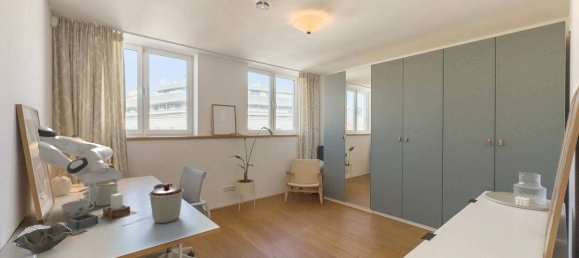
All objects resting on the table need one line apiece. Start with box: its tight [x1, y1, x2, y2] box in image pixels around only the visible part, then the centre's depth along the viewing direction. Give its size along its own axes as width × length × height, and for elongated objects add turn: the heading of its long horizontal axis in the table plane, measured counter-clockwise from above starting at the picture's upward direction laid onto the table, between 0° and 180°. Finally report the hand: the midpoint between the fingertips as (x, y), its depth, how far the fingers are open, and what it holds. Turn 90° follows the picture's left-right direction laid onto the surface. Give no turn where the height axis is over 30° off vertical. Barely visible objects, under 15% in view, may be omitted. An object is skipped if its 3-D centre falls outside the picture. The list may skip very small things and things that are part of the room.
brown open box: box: [96, 204, 139, 222], centre depth 145 cm, size 18×15×5 cm
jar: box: [95, 182, 119, 207], centre depth 168 cm, size 13×13×18 cm
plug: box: [110, 192, 124, 210], centre depth 144 cm, size 5×4×12 cm
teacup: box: [61, 199, 95, 218], centre depth 145 cm, size 15×12×8 cm
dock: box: [63, 212, 108, 236], centre depth 129 cm, size 18×15×5 cm
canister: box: [148, 183, 185, 224], centre depth 138 cm, size 18×18×21 cm
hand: (107, 187), depth 147 cm, fingers open, 8 cm apart
